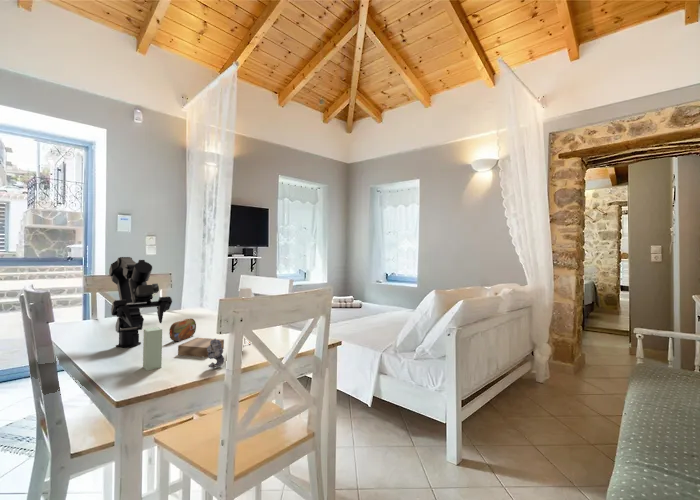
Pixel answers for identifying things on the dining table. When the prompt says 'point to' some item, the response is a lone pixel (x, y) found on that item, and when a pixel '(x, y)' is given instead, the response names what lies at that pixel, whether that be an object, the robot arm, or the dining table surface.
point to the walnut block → (196, 347)
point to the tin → (182, 329)
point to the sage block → (152, 348)
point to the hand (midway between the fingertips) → (146, 324)
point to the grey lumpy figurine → (215, 353)
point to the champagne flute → (245, 293)
